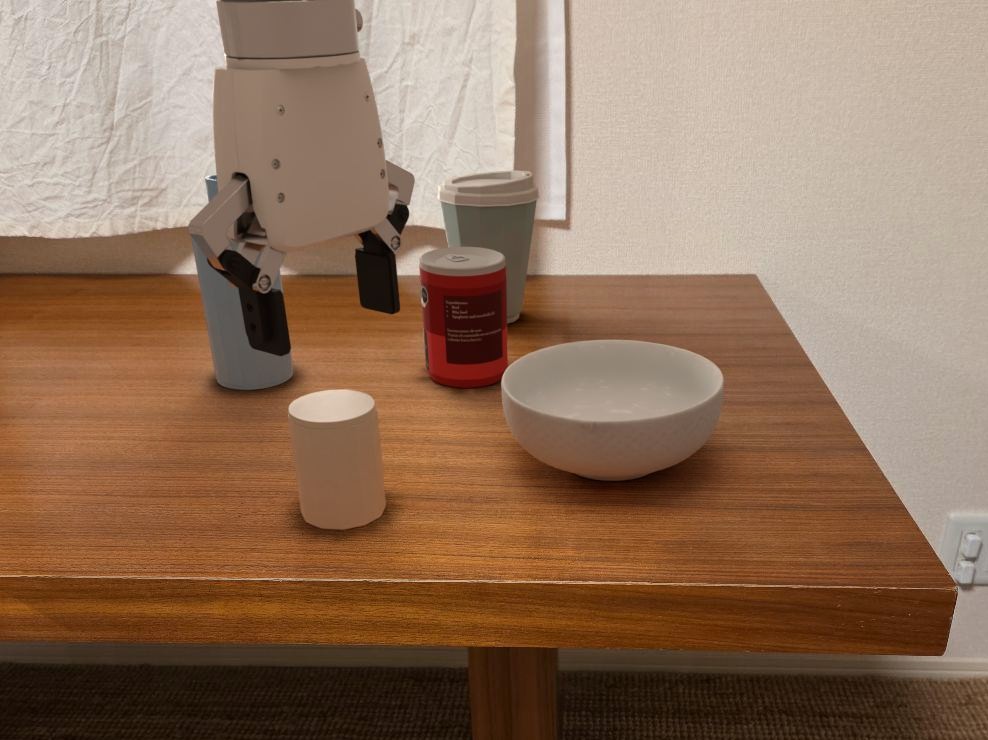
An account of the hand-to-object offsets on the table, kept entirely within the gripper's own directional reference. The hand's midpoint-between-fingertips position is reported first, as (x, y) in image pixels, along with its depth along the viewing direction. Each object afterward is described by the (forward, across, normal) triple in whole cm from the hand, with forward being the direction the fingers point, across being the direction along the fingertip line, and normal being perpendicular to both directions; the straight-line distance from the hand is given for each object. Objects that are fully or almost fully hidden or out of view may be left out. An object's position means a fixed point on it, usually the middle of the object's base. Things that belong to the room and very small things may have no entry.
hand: (328, 329), depth 65 cm
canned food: (+14, -26, -10) cm, 31 cm away
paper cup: (+13, 0, 0) cm, 13 cm away
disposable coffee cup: (+14, -41, -19) cm, 47 cm away
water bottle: (+13, -14, -26) cm, 33 cm away
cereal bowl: (+14, -18, +11) cm, 25 cm away
